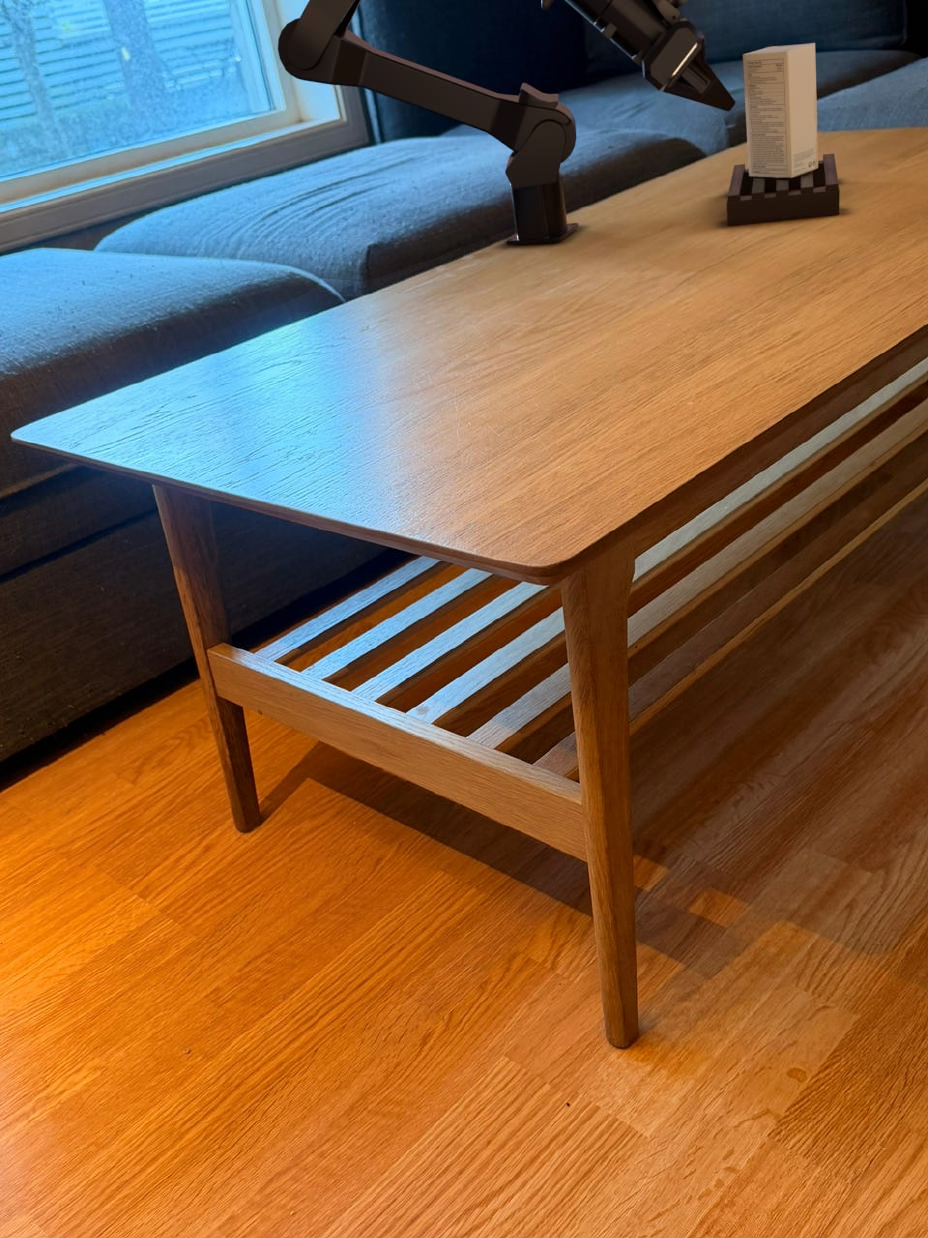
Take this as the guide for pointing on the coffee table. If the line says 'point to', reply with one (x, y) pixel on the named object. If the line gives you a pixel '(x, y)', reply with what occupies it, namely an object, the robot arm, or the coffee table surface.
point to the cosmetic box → (781, 110)
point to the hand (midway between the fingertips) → (727, 101)
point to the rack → (783, 195)
